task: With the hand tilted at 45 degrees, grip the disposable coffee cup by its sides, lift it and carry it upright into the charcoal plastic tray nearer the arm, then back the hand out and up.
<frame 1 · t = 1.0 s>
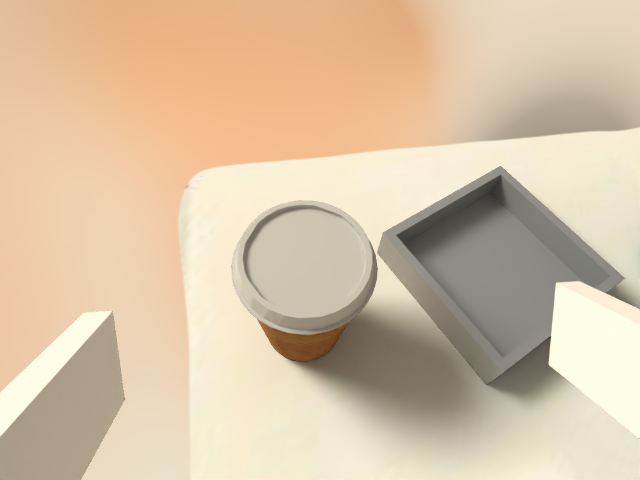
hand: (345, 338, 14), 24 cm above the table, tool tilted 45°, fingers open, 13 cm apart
disposable coffee cup: (303, 326, 39), on the table
charcoal tray: (487, 274, 43), on the table
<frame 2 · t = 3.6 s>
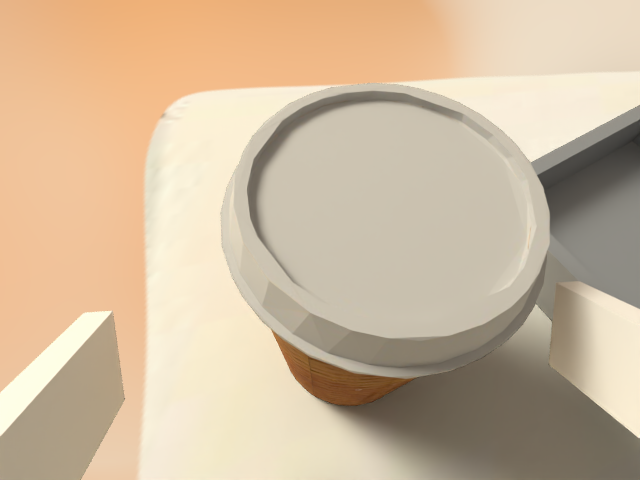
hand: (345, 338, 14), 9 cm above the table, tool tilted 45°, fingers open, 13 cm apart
disposable coffee cup: (346, 341, 23), on the table
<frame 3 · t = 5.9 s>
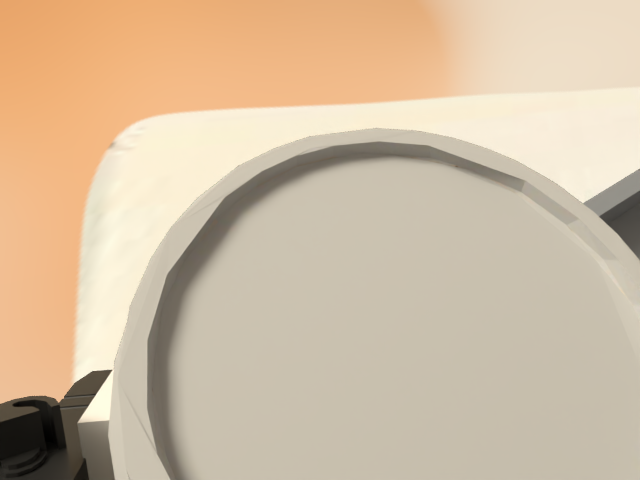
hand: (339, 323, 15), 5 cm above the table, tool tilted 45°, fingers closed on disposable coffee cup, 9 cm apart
disposable coffee cup: (338, 453, 17), on the table, touching gripper
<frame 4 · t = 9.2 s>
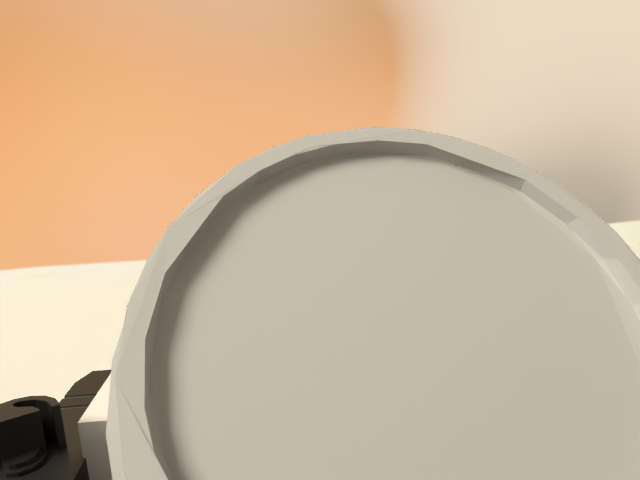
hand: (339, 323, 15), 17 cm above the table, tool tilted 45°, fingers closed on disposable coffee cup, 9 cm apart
disposable coffee cup: (337, 453, 17), point 12 cm above the table, touching gripper
when the fingers open (7 cm above the table, at t = 12.9 s): disposable coffee cup drops 2 cm, resting on charcoal tray.
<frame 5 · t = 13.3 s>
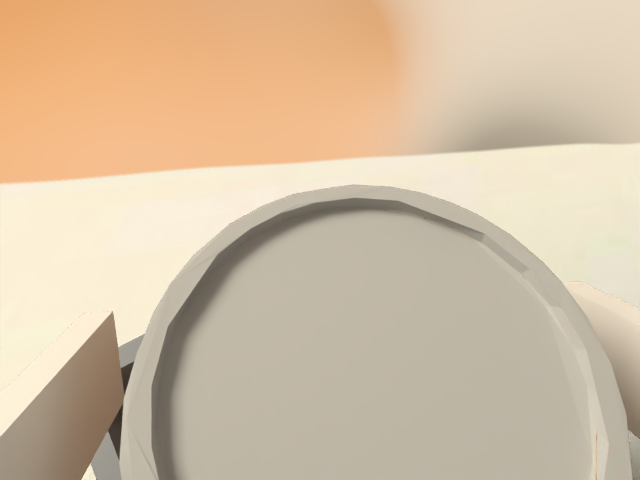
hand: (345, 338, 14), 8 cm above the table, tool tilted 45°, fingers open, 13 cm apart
disposable coffee cup: (331, 462, 18), resting on charcoal tray
charcoal tray: (333, 460, 19), on the table
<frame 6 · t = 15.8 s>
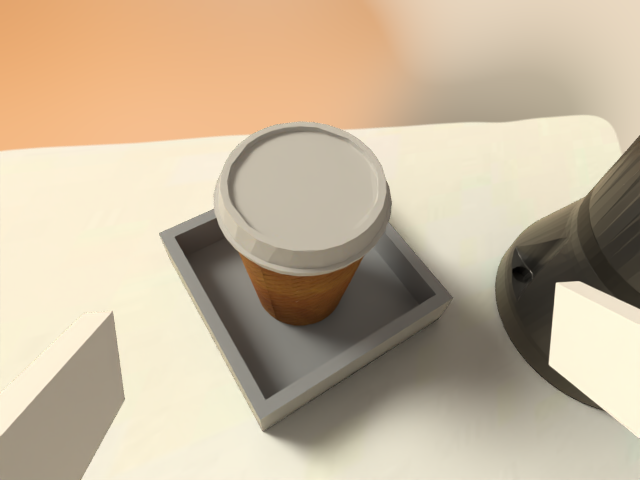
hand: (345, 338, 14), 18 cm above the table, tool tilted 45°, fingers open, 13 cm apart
disposable coffee cup: (300, 287, 34), resting on charcoal tray
charcoal tray: (301, 288, 34), on the table
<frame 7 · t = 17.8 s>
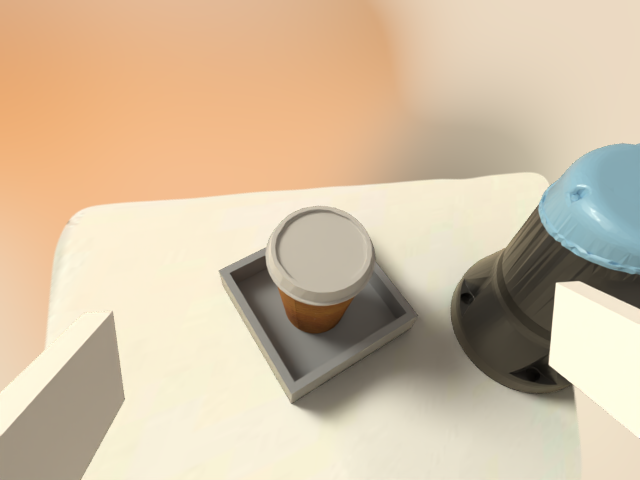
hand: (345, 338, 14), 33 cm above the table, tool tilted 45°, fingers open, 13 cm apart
disposable coffee cup: (314, 306, 49), resting on charcoal tray
charcoal tray: (315, 307, 50), on the table
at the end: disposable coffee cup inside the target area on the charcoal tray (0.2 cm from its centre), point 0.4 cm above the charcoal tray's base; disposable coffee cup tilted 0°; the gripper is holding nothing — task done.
